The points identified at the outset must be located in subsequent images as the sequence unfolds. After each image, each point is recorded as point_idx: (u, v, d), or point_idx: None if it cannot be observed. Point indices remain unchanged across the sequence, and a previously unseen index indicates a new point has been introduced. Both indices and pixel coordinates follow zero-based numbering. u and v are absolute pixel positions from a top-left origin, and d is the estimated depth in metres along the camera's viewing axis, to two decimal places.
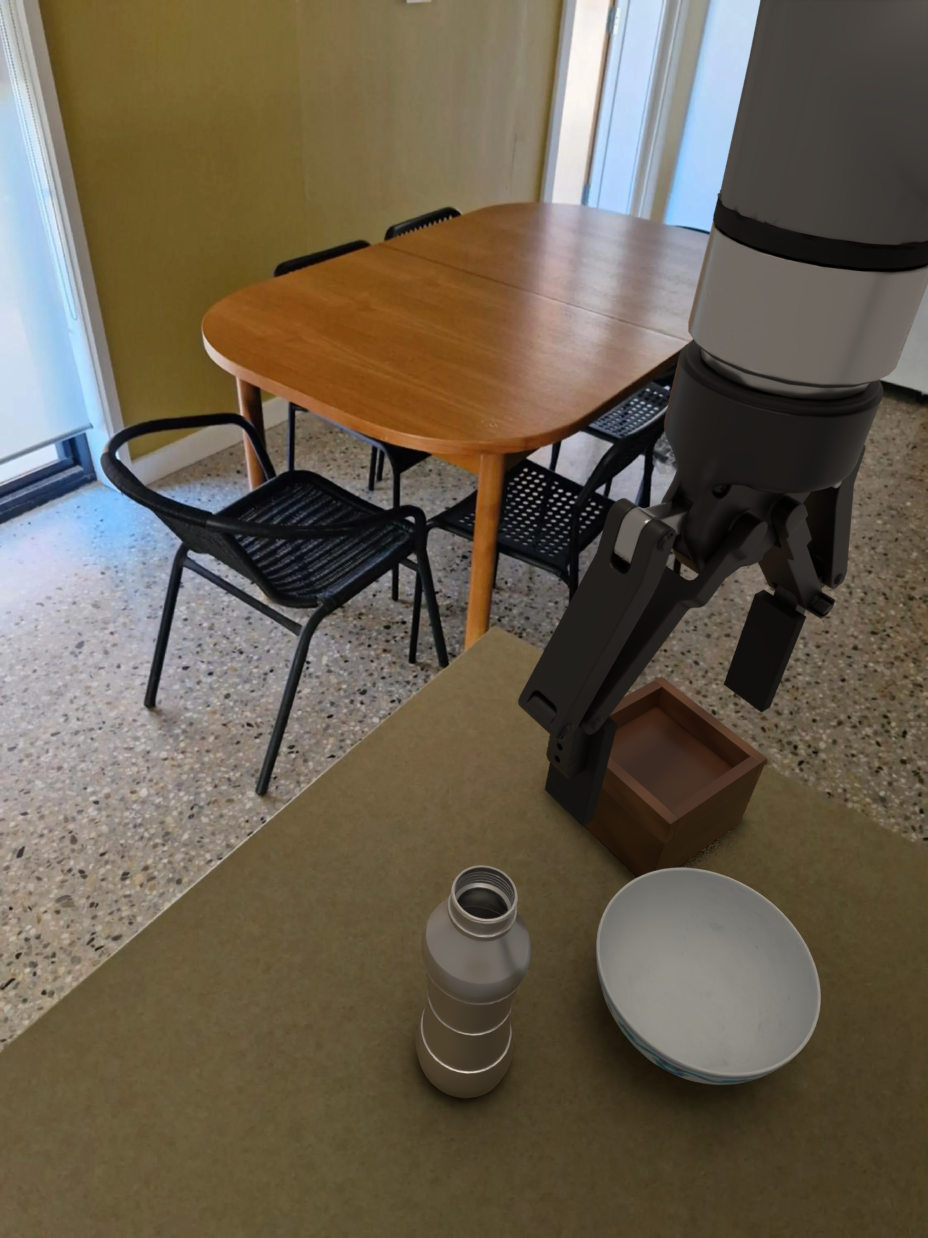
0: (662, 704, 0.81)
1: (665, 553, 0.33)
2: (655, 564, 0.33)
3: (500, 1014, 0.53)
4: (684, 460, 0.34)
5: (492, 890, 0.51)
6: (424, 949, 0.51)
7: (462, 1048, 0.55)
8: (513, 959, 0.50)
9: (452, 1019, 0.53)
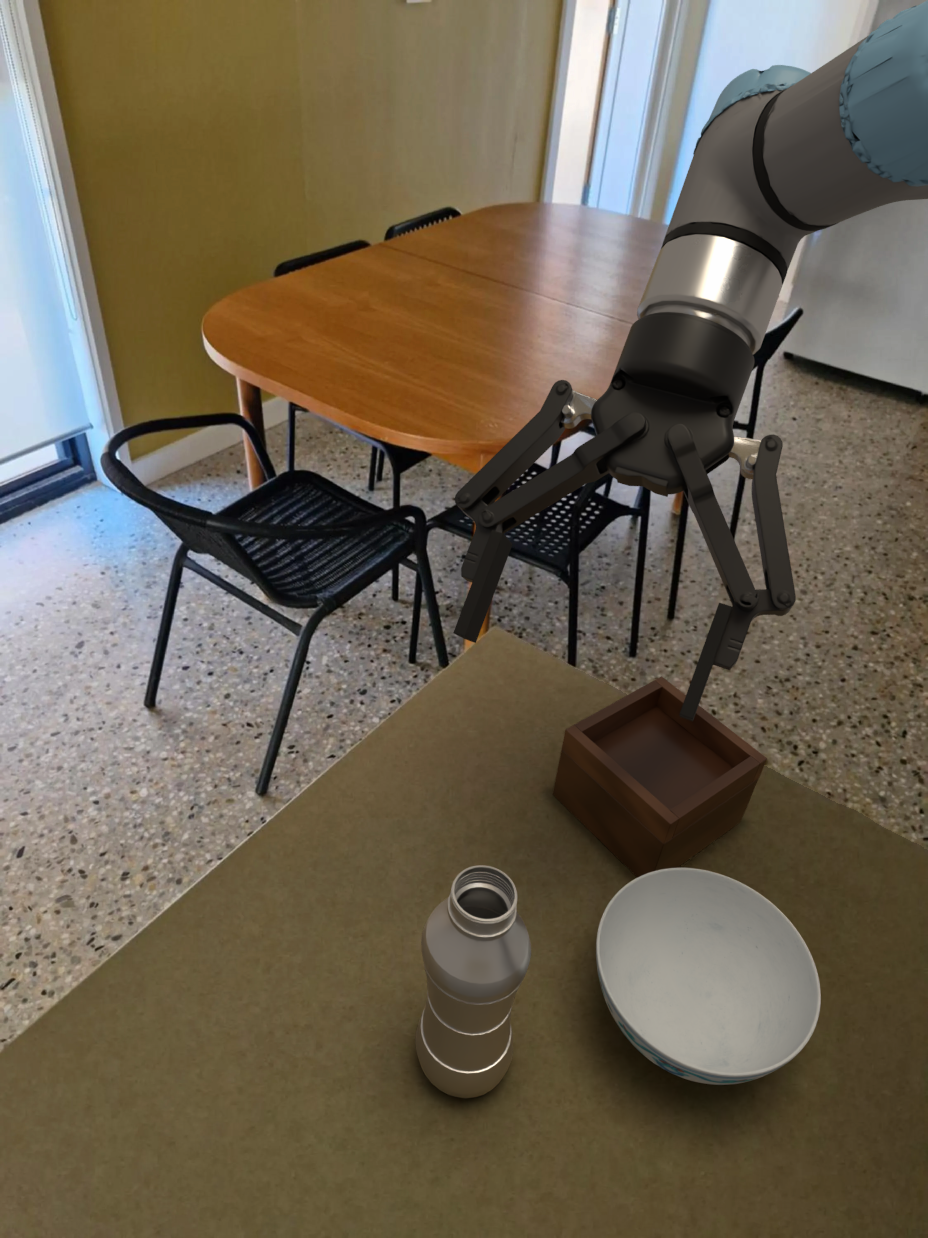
0: (662, 704, 0.81)
1: (561, 399, 0.53)
2: (553, 402, 0.53)
3: (500, 1014, 0.53)
4: None
5: (492, 890, 0.51)
6: (424, 949, 0.51)
7: (462, 1048, 0.55)
8: (513, 959, 0.50)
9: (452, 1019, 0.53)
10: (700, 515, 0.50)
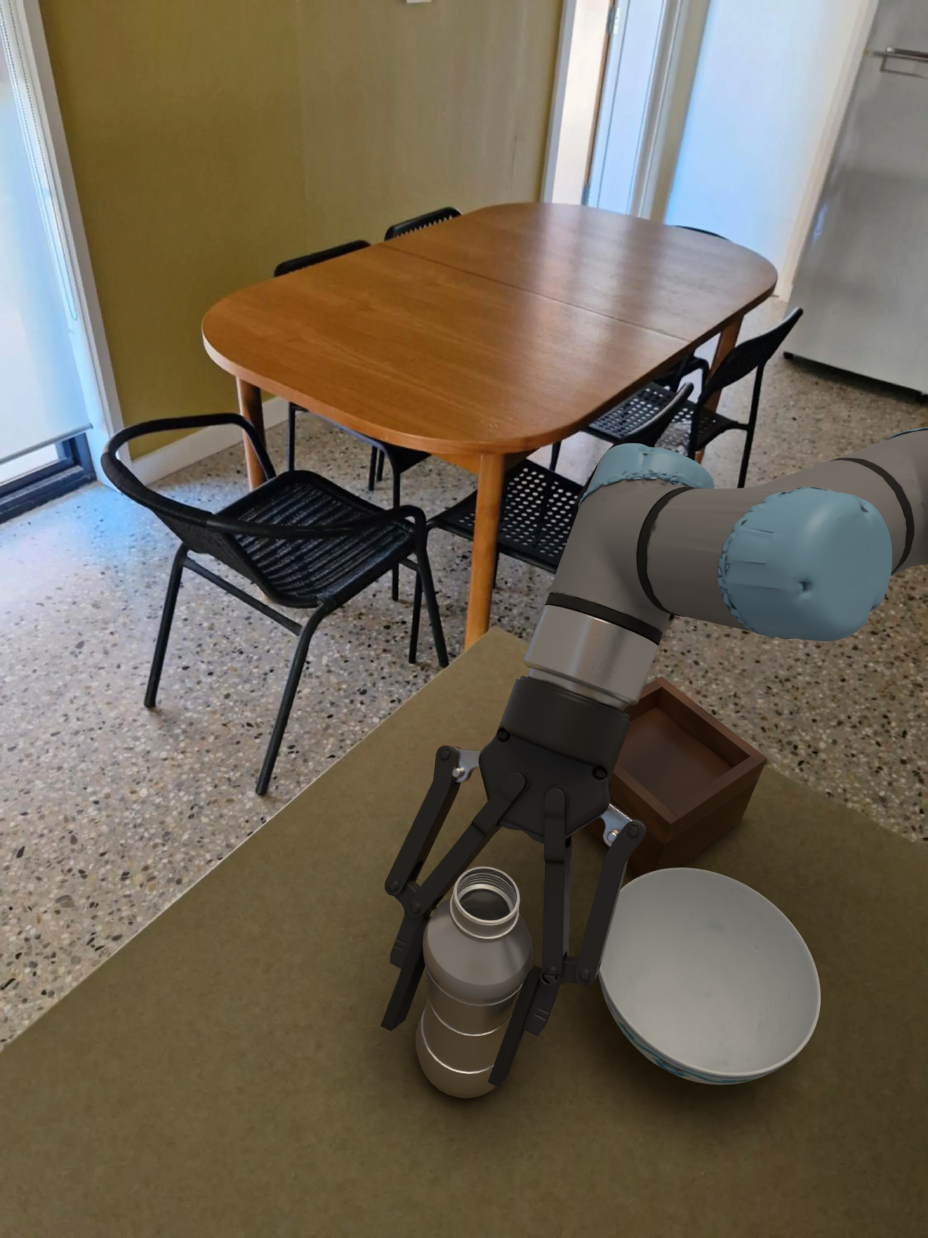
0: (662, 704, 0.81)
1: (448, 764, 0.55)
2: (441, 769, 0.55)
3: (501, 1015, 0.53)
4: None
5: (494, 891, 0.51)
6: (425, 950, 0.51)
7: (463, 1049, 0.55)
8: (515, 960, 0.50)
9: (453, 1020, 0.53)
10: (545, 878, 0.53)
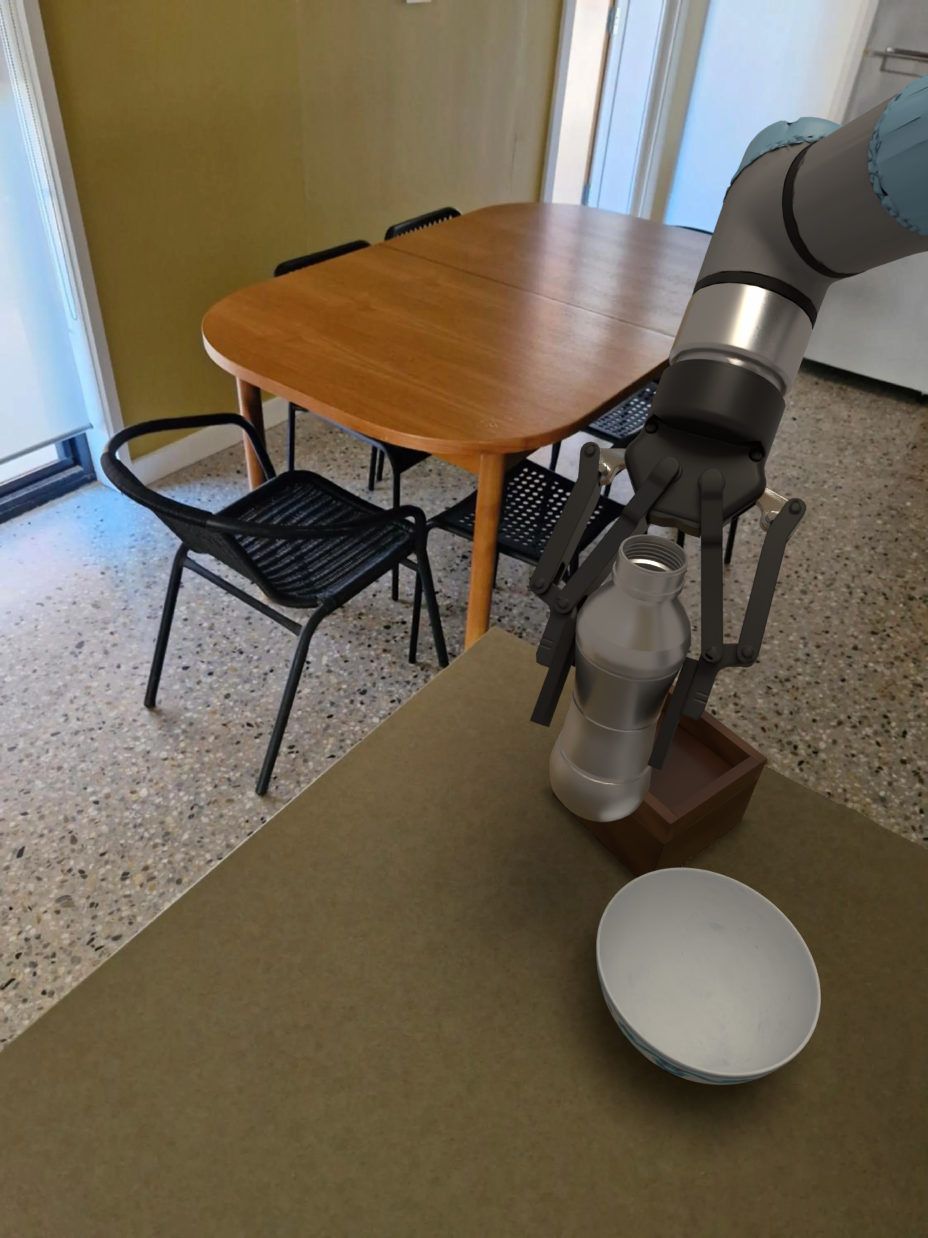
0: None
1: (594, 459, 0.53)
2: (587, 465, 0.54)
3: (656, 705, 0.51)
4: None
5: (654, 566, 0.49)
6: (582, 629, 0.50)
7: (611, 751, 0.53)
8: (679, 630, 0.48)
9: (606, 711, 0.51)
10: (702, 561, 0.51)
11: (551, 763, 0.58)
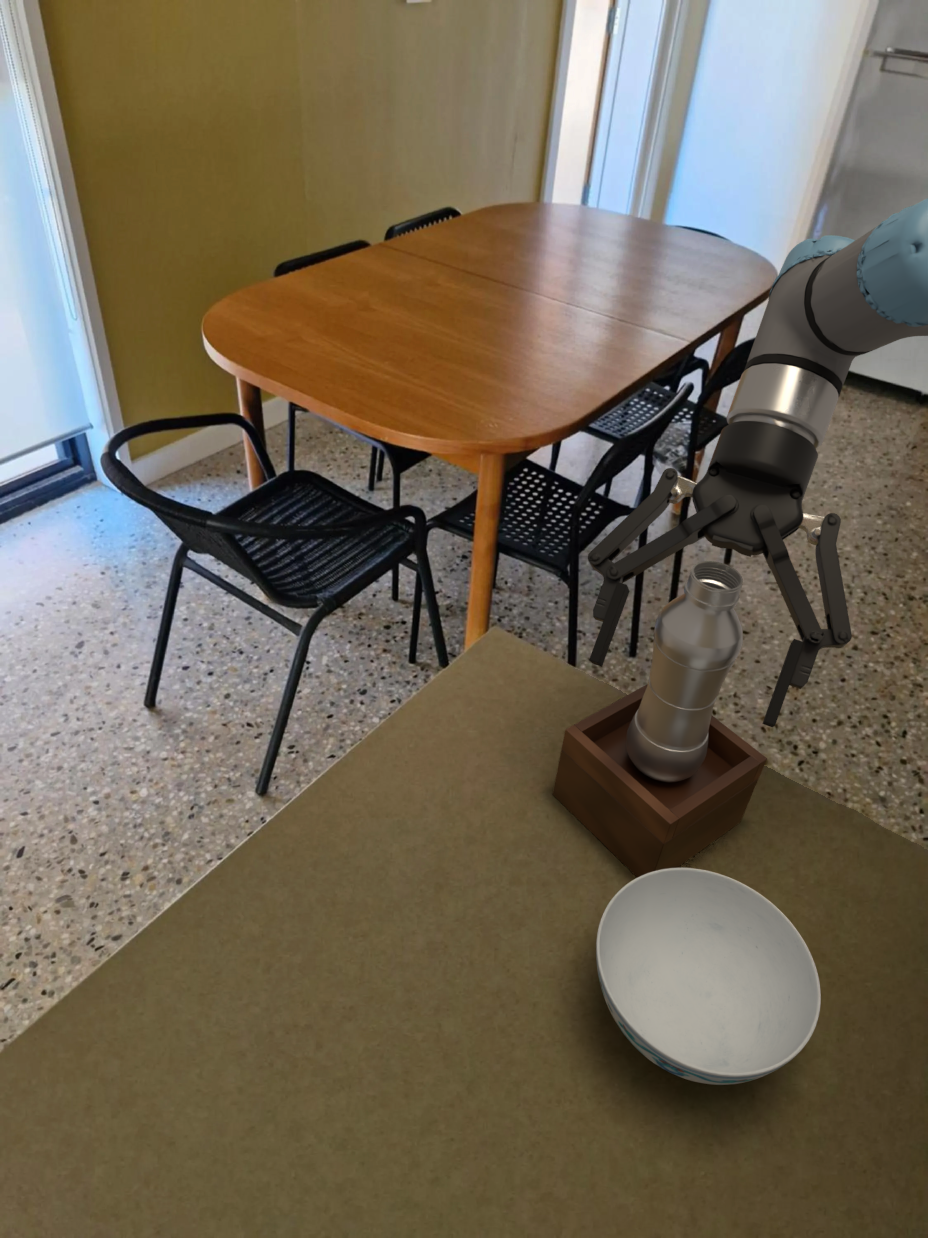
0: None
1: (670, 482, 0.69)
2: (663, 484, 0.70)
3: (715, 690, 0.68)
4: None
5: (715, 584, 0.66)
6: (661, 631, 0.66)
7: (679, 725, 0.70)
8: (735, 632, 0.65)
9: (677, 694, 0.68)
10: (778, 573, 0.66)
11: (629, 736, 0.74)
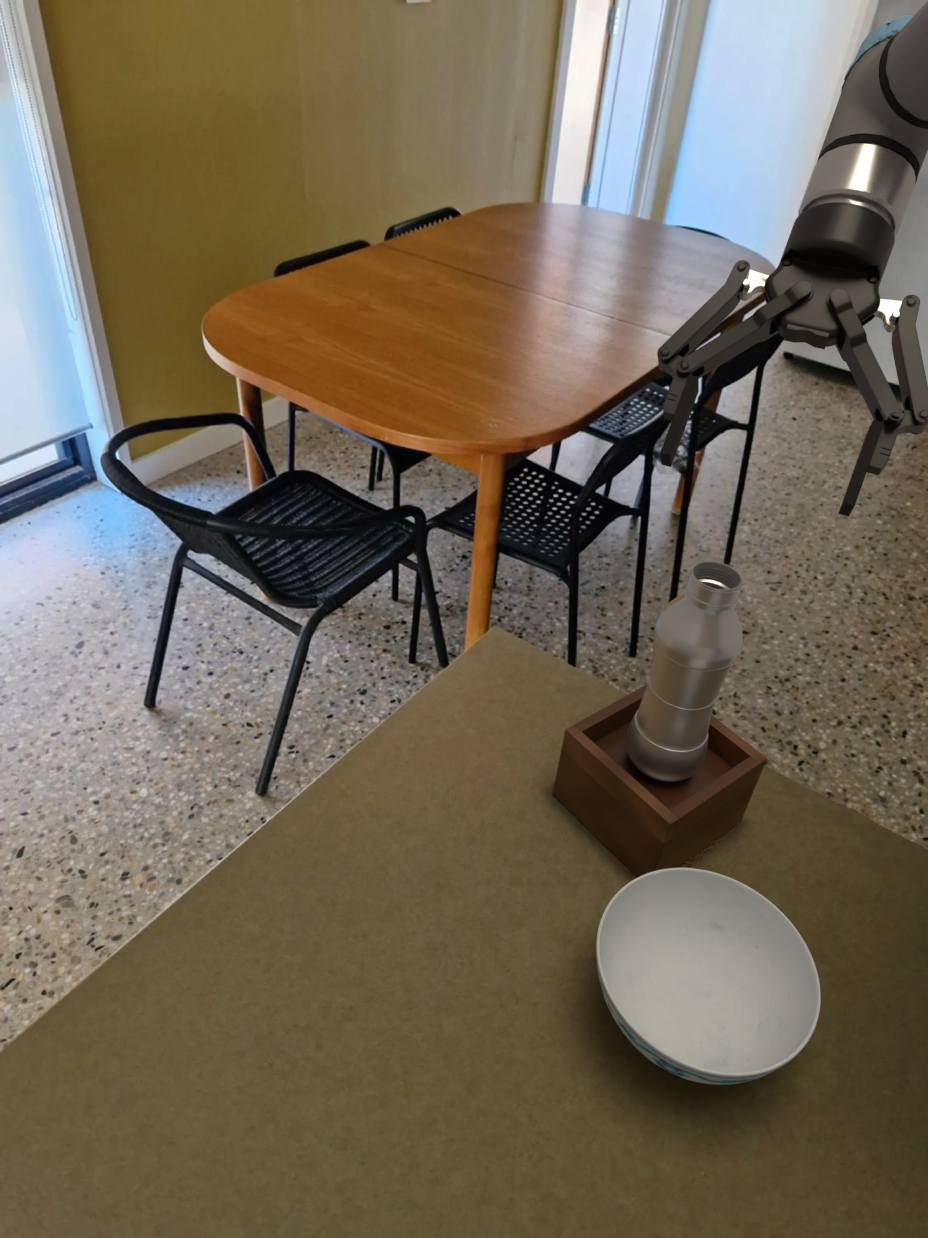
0: None
1: (742, 274, 0.68)
2: (735, 277, 0.68)
3: (715, 690, 0.68)
4: None
5: (715, 584, 0.66)
6: (661, 631, 0.66)
7: (679, 725, 0.70)
8: (735, 632, 0.65)
9: (677, 694, 0.68)
10: (856, 356, 0.65)
11: (629, 736, 0.74)
